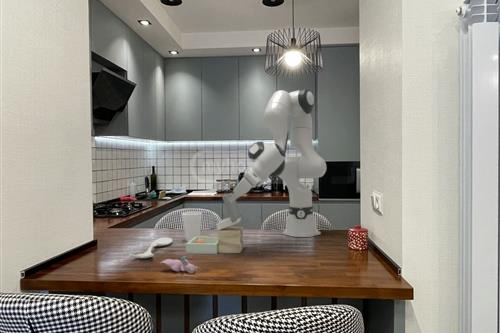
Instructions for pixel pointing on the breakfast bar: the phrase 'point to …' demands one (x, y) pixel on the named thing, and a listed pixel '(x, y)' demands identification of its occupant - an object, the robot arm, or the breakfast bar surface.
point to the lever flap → (230, 213)
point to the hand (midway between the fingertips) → (232, 200)
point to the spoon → (157, 242)
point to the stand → (230, 240)
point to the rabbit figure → (181, 265)
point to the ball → (200, 241)
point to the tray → (202, 246)
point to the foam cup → (192, 224)
